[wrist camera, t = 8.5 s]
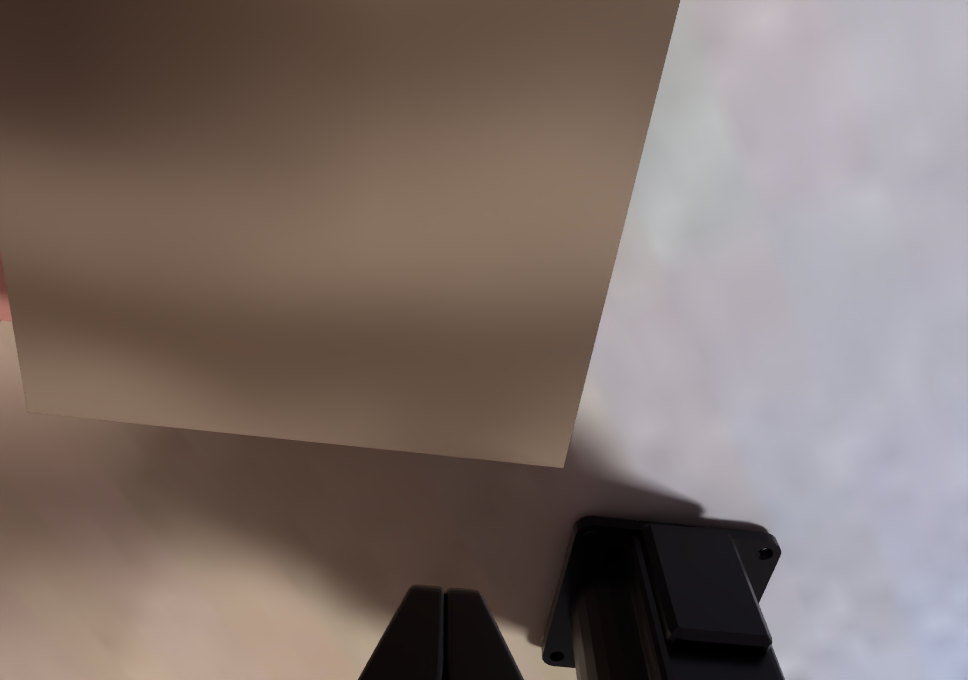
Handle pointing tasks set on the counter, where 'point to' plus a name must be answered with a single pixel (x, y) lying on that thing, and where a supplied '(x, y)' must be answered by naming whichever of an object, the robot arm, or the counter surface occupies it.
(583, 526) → the robot arm
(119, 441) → the counter surface
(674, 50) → the counter surface
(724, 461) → the counter surface
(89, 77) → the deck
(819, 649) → the counter surface
